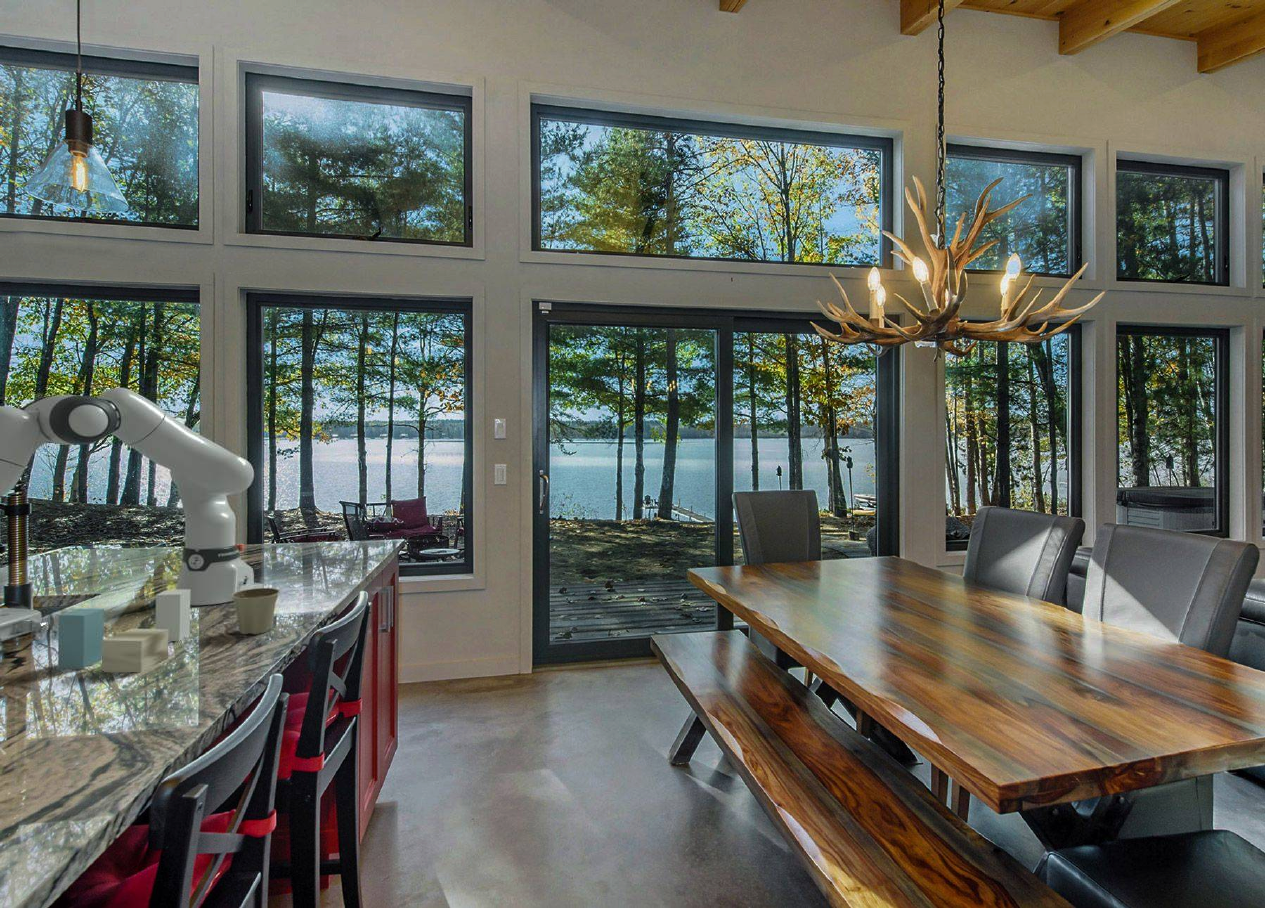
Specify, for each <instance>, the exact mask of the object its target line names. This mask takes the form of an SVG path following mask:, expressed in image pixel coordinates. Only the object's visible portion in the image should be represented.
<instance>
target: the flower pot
mask: <svg viewBox="0 0 1265 908" xmlns="http://www.w3.org/2000/svg"><path fill="white" fill-rule="evenodd" d="M279 594H281V590H280V589H277V588H273V587H263V588H255V589H247V590H242V591H238V592H235V593H233V594H232V595H231V597H232V598H233V600H234V601H233V604H234V605H235V610H236V611H235V612H236V618H237V625H238V633H240V634H242V635H245V634H246V635H248V634H250V635H251V634H252V635H259V634H263V633H268V631H270V630H271V629H272V627H273V620H274V616H275V608H276V603H277V600H278V596H279Z"/></svg>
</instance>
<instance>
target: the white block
mask: <svg viewBox="0 0 1265 908" xmlns="http://www.w3.org/2000/svg"><path fill="white" fill-rule="evenodd" d="M190 622H191V605H190V589H182V590H177V589H166V590H164V591H161V592H159V593H157V594H155V625H154V626H155V628H154V629H169V632H168V641H175V642H181V641H182V640H184V639H185V638H187V637H189V636H190V635H189V634H191V631H190V630H191V629H190V628H191V627H190V626H191V623H190ZM184 637H185V638H184ZM183 638H184V639H183ZM181 639H182V640H181ZM180 640H181V641H180Z"/></svg>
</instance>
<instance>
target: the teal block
mask: <svg viewBox="0 0 1265 908" xmlns="http://www.w3.org/2000/svg"><path fill="white" fill-rule="evenodd" d="M104 612H105V609H104V608H76V609H73V610H71V611H66V612H64V613H61V614H59V615H58V641H57V644H58V649H57V650H58V651H57V654H58V656H57V658H58V659H57V669H58V670H85V669H86V668H85V667H88V666H89V665H92V664H94V663H97V662H99V661H101V660H102V640H104V619H105V618H104V617H105V615H104V614H105V613H104ZM101 662H102V661H101ZM99 663H100V662H99ZM97 664H98V663H97ZM94 665H95V664H94ZM92 666H93V665H92ZM84 668H85V669H84ZM88 668H89V667H88Z"/></svg>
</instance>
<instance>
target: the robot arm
mask: <svg viewBox="0 0 1265 908" xmlns="http://www.w3.org/2000/svg"><path fill="white" fill-rule="evenodd" d="M109 435H112V436H115V437H116V438H117V439H119V440H120V441H122V442H123V443H124V444H126V445H127V446H129V447H130V448H131V449H133V450H135V451H136V452H137V453H139V454H141V455H142V456H144V457H146V458H147V459H148V460H151V462H153V463H155V464H156V465H159V466H161V467H163V468H166V469H168V470H169V475H170V478H171V480H172V481H173V483H174V484H175V486H176V488H177V490H178V493H179V497H180V502H181V506H182V508H183V514H184V521H185V522H184V528H185V529H184V546H183V548H182V553H181V555H182V561H183V562H184V563H183V564H182V565H181V566H180V567H179V569H178V576H177V582H176V590H182V589H190V606H207V605H208V606H209V605H217V604H218V605H219V604H223V603H224V604H225V603H230V602H234V600H233V598H232V597H231V595H232V594H233V593H235V592H238V591H242V590H247V589H255V588H264V584H263V583H259V582H255V579H254V578H255V577H254V576H255V574H254V568H252V566H250V565H248V563H246V562H245V561H244V560H242V559H241V558H240V552H244V550H245V543H236V533H237V532H236V526H237V525H236V524H237V523H236V522H237V520H236V519H237V517H236V514H235V512H234V511H233V510H232V508H231V506H230V504H229V500H228V498H227V496H230V495H236V494H239V493H241V492H244V491H246V490H247V489H248V488H249V487H250V486H251V485H252V483H253V480H254V478H255V472H254V471H255V470H254V468H253V466H252V464H251V462H250V461H248V460H247V459H245V458H243V457H241V456H239V455H237V454H235V453H233V452H231V451H229V450H227V449H226V448H224V447H223V446H221V445H220V444H217V443H216V442H213V441H212V440H210V439H208V438H206V437H204V436H202V435H201V434H199V433H198V432H196V431H194V430H192V429H191V428H190V427H188V426H187V425H185V424H184V423H182V422H181V421H180V420H178V419H177V418H176V417H174V416H172V415H171V414H170V413H169V412H168V411H166V410H164V409H163V408H162V407H160V406H159V405H158V404H156V403H155V402H153V401H151V400H150V399H148V398H146V397H145V396H142V395H141V394H138V393H137V392H134V391H132V390H131V389H128V388H126V387H114V388H110V389H107V390H105V391H104V392H102V393H101V394H99V395H98V396H97V397H94V396H88V395H76V394H74V395H73V394H59V395H48V396H42V397H40V398H37V399H35V400H33V401H31V402H29V403H27V404H26V405H23V406H22V407H21V408H20V407H19V408H17V407H12V406H6V405H4V406H2V405H0V497H3V496H4V495H6V494H8V493H9V492H11V490H12V489H13V488H14V487H15V486H16V485H17V483H18V482H19V480H20V479H21V477H22V475H23V473H24V471H25V470H26V467H27V466H28V464H29V462H30V460H31V458H32V456H33V454H35V452H36V451H37V450H38V449H39V448H41V446H43V445H45V444H56V445H61V446H74V445H75V446H84V445H85V446H86V445H90V444H94V443H96V442H99V441H101V440H103V439H105V438H106V437H108V436H109ZM42 619H43V618H42V612H41V611H40V610H36V609H29V608H27V609H26V608H14V607H13V608H11V607H10V608H9V607H6V608H4V607H3V608H0V647H1V646H2V642H4V641H6V640H10V639H12V638H16V637H19V636H22V635H25V634H29V633H30V632H31V633H32V634H37V633H38V634H40V633H43V632H46V631H48V630H49V622H48V621H42Z"/></svg>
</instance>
